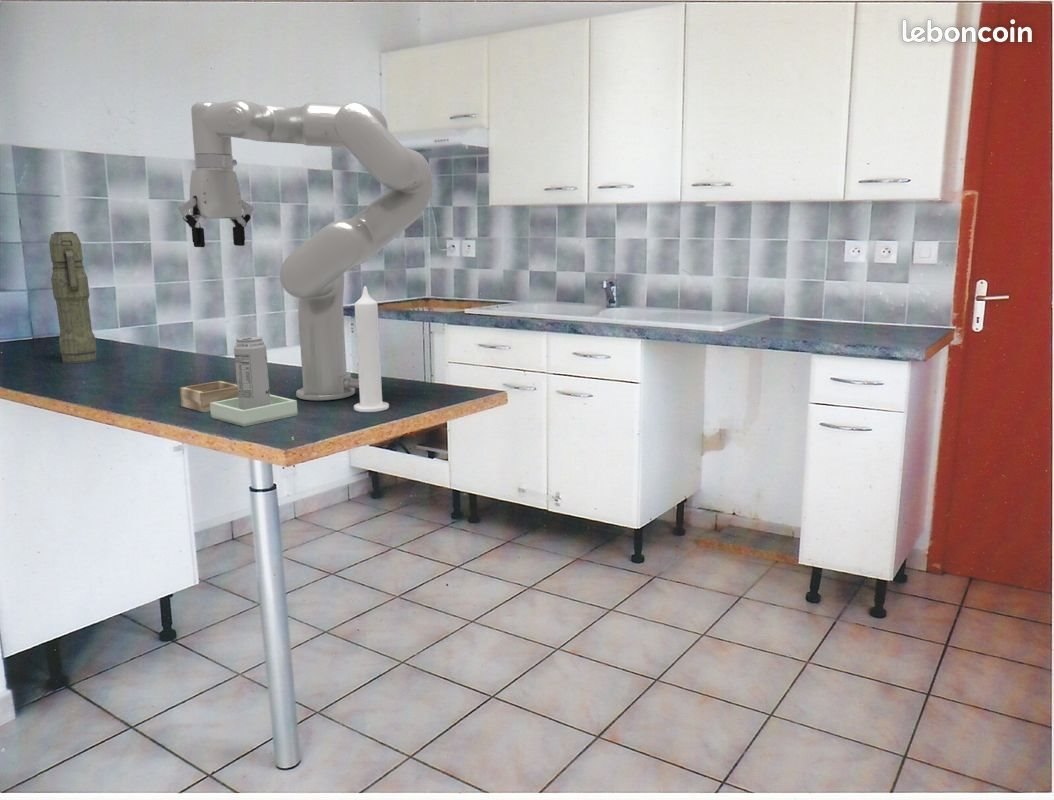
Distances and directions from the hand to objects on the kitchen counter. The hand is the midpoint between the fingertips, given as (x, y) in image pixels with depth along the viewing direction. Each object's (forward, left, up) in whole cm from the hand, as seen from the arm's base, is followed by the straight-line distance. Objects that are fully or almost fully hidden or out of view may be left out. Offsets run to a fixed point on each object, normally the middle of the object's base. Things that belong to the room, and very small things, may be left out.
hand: (219, 246), depth 189 cm
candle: (-36, +12, -33) cm, 50 cm away
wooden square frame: (-1, +11, -33) cm, 34 cm away
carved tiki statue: (+63, -40, -33) cm, 82 cm away
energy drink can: (-14, +20, -32) cm, 41 cm away
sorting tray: (-14, +20, -33) cm, 41 cm away
